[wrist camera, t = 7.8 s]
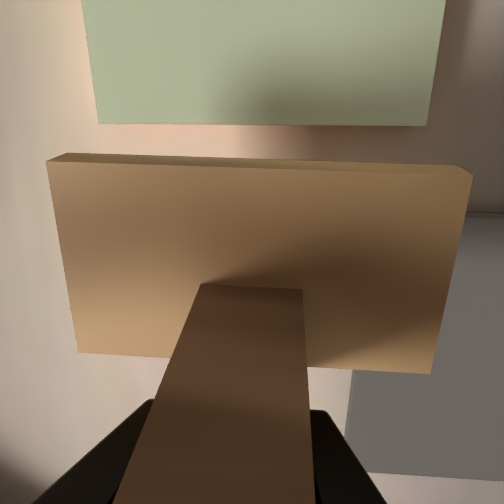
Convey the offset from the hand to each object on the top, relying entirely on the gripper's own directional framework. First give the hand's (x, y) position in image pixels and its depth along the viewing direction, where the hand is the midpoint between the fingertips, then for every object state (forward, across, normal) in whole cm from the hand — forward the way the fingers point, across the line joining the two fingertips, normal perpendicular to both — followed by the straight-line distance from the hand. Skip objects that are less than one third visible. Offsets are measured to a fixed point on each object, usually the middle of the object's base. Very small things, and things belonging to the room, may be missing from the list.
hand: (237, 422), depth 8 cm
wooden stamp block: (+4, 0, -1) cm, 4 cm away
